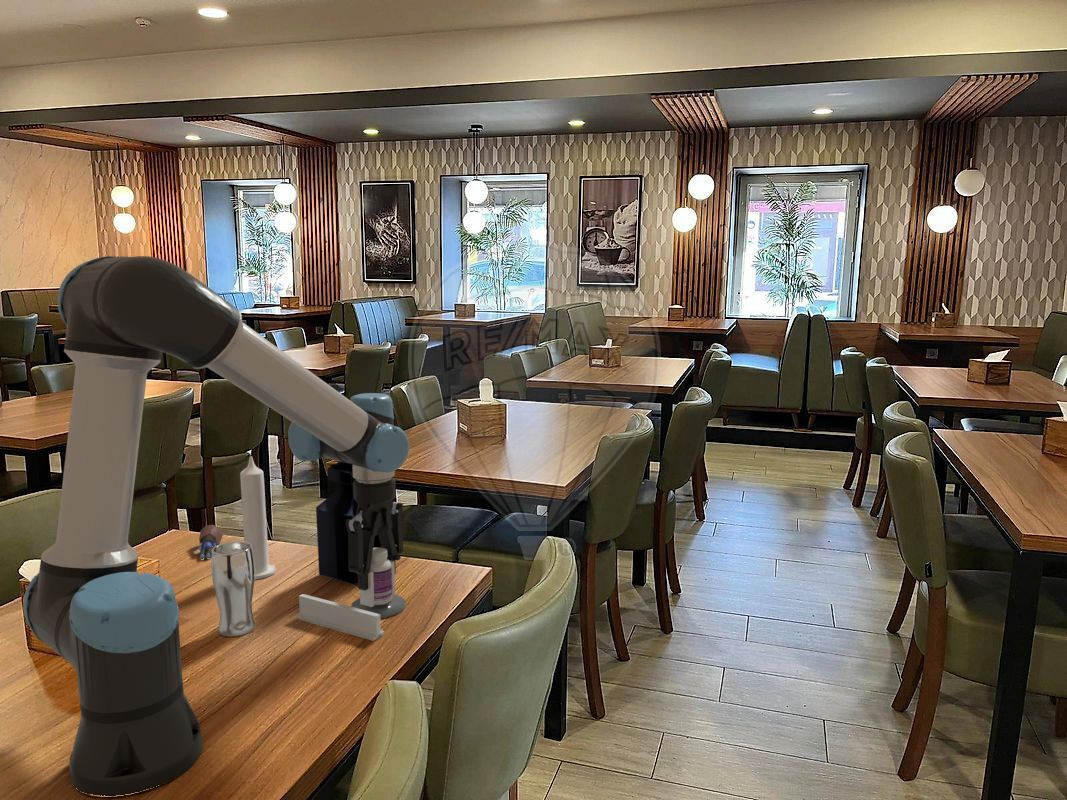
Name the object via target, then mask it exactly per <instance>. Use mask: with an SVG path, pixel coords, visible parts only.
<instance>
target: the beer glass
mask: <svg viewBox="0 0 1067 800" xmlns="http://www.w3.org/2000/svg"><path fill="white" fill-rule="evenodd" d="M216 545H217V546H215V547H212V550H211V558H210V560H211V567H210V568H211V580H212V586H213V590H214V592H215V593H214V594H215V597H216V601H217V604H218V610H219V621H218V622H219V623H218V634H219V635H220V636H223V637H227V638H230V637H231V638H235V637H241V636H244V635H247V634H249V633H252V632H253V631H254V630H255V628H256V621H255V617H254V614H253V606H252V605H253V604H252V603H253V594H254V587H255V579H254V578H255V567H254V558H253V552H252V545H251V544H250V543H248V542H244V541H241V540H240V541H236V540H235V541H228V542H223V543H220V544H219V545H218V544H216Z"/></svg>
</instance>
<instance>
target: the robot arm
mask: <svg viewBox="0 0 1067 800" xmlns="http://www.w3.org/2000/svg"><path fill="white" fill-rule="evenodd" d="M57 310H58V312H59V315H60V317H61V319H62V322H63V323H64V325H65V326H66V330H65V340H64V349H63V352H64V353H65V354H66V355H67V357H68V358H69V359H70V360H71V361H72V362H73V364H74V365H75V371H74V378H73V379H74V380H73V389H72V398H71V405H70V415H69V422H68V431H67V439H66V440H67V442H66V451H65V458H64V459H65V460H64V467H63V476H62V477H63V478H62V485H61V495H60V504H59V512H58V519H57V520H58V521H57V532H56V539H55V542H54V544H52V545H51V546H50V547H48V548H47V549H46V550H44V551H43V552H42V553H41V556H40V565H39V571H38V573H37V574H36V575H34V576H33V577H32V579H31V580H30V582H29V583H28V586H27V587H26V590H25V593H24V597H23V614H24V619H25V621H26V623H27V625H28V626H29V628H30V631H32V633H33V634H34V636H35V637H36V638H37V639H38V640H39V641H41V642H42V644H44V645H45V646H46V647H49V648H50V649H51V650H53V651H54V652H55V653H56V654H58V655H59V656H60V657H62V659H64V660H65V661H66V662H67V663H68V664H70V665H71V666H72V667H73V668H74V669H75V674H76V679H77V680H76V681H77V688H78V689H77V690H78V698H79V707H80V720H79V722H78V723H79V724H78V727H77V730H76V734H75V740H74V743H73V747H72V751H71V753H70V757H69V764H68V765H69V776H70V783H71V782H72V783H71V785H72V784H73V785H74V786H75V788H77V789H78V790H79V791H81V792H84V793H87V794H93V795H100V796H101V795H102V796H104V795H105V796H116V795H125V794H131V793H135V792H140V791H143V790H146V789H150V788H153V787H156V786H158V785H161V784H163V783H165V784H167V783H169V782H171V781H173V780H175V779H176V778H178V777H179V776H181V775H182V774H183V773H185V772H186V771H187V770H189V769H190V768H191V767H192V766H193V765H194V764H195V763H196V761H197V760H198V759H199V757H200V755H201V753H202V751H203V736H202V728H201V724H200V723H199V721H198V719H197V717H196V713H194V710H193V708H192V706H191V704H190V702H189V700H188V699H187V696H186V694H185V692H184V691H185V690H184V681H183V670H182V669H183V667H182V665H183V664H182V654H181V653H182V652H181V638H180V636H181V635H180V623H179V619H180V611H179V610H180V609H179V606H178V602H177V600H176V594H175V590H174V587H173V585H172V584H170V582H169V581H168V580H166V579H165V578H163V577H162V576H158V575H156V574H153V573H148V572H144V573H140V574H139V572H138V562H139V553H138V552H137V551H136V550H135V549H134V548H133V547H132V546H131V545H130V543H129V542H128V541H129V536H130V535H129V534H130V523H131V517H132V508H133V500H134V499H133V498H134V491H135V490H134V489H135V488H134V487H135V482H136V481H135V480H136V474H137V463H138V456H139V448H140V447H139V446H140V439H141V438H140V437H141V428H142V420H143V412H144V401H145V395H146V385H147V377H148V373H149V372H150V371H151V370H152V369H153V368H155V367H156V366H158V365H159V364H160V363H161V360H162V353H164V354H167V355H169V356H172V357H174V358H176V359H178V360H180V361H182V362H184V363H185V364H186V365H188V366H190V367H191V368H193V369H195V370H201V369H205V368H208V369H209V370H210V371H212V372H214V373H215V374H217V375H219V376H220V377H221V378H224V379H225V380H226V381H228V382H230V383H231V384H233V385H234V386H236V388H239V389H240V390H241V391H244V392H245V393H247V394H248V395H250V396H251V397H253V398H255V399H256V400H257V401H259V402H261V403H262V404H264V405H265V406H266V407H269V408H270V409H272V410H273V411H275V412H276V413H278V414H279V415H281V416H283V418H286V419H287V420H289V421H290V425H289V427H288V432H287V435H288V437H287V438H288V445H289V449H290V451H291V453H292V454H293V456H294V457H295V458H296V459H297V460H300V461H303V462H308V461H318V460H320V459H329V460H332V461H336V462H338V461H340V462H344V463H349V464H352V467H353V478H355V481H354V482H353V491H354V500H355V501H356V502H357V504H358V509H357V512H356V516H355V517H354V518H353V519H352V520H351V519H347V520H346V522H345V524H346V527H347V531H348V569H349V571H350V572H355V573H357V574H358V584H357V588H358V590H359V598H360V604H362V605H365V606H369V607H373V606H374V578H373V572H372V571H370V566H371V560H372V553H373V546H374V539H375V536H376V535H377V534H378V535H379V540H380V544H381V548H385V549H387V554H388V556H387V559H388V560H389V561H390V562H391V567H392V595H394V594H395V595H396V577H395V576H396V572H397V568H396V565H397V564H396V561H398V562H399V561H400V560H401V554H403V552H404V541H403V540H404V537H403V519H402V518H403V517H402V515H403V509H404V503H401V502H396V501H393V500H394V499H395V498H396V494H397V493H396V479H395V478H394V476H395V475H396V473H395V472H396V471H397V470H398V469H400V468H401V467H402V466H403V464H404V463H405V461H406V460H407V457H408V455H409V451H410V442H409V438H408V436H407V433H406V432H405V431H404V430H403V429H402V428H400V427H399V426H395V421H394V420H395V415H394V406H393V399H392V397H391V396H390V395H388V394H386V393H379V392H378V393H376V392H367V393H358V394H356V395H355V394H354V395H353V396H351V398H350V399H348V398H347V397H346V396H345V395H344V394H342V393H340V392H339V391H338V390H336V389H335V388H333V386H331V385H330V384H328V383H327V382H326V381H324V380H322V379H321V378H320V377H319V376H318V375H316V374H314V373H313V372H312V371H310V370H309V369H308V368H306V367H304V366H303V365H302V364H301V363H300V362H298V361H297V360H296V359H293V358H292V357H291V356H290V355H288V354H287V353H286V352H284V351H283V350H282V349H280V348H279V347H277V346H276V345H275V344H273V343H272V342H270V341H269V340H268V339H266V338H265V337H264V336H262V335H261V334H260V333H258V332H257V331H255V330H254V329H253V328H251V327H250V326H249V325H247V324H246V323H244V322H243V317H242V313H241V311H240V310H239V308H237V307H236V306H234V305H233V304H232V303H230V301H227V300H226V299H225V298H223V297H222V296H221V295H219V293H217V292H215V291H214V290H213V289H211V288H210V287H208V286H207V285H206V284H204V283H203V282H202V281H201V280H199V279H198V278H196V277H195V276H193V275H192V274H191V273H190V272H188V271H186V270H185V269H183V268H181V267H180V266H178V265H176V264H175V263H172V262H170V261H168V260H164V259H162V258H159V257H157V256H147V255H144V256H143V255H142V256H141V255H136V256H111V255H107V256H99V257H96V258H93V259H90V260H87V261H85V262H82V263H81V264H78V265H77V266H75V267H74V268H73V269H71V270H70V271H69V273H67V275H66V276H65V277H64V279H63V280H62V282H61V284H60V286H59V290H58V294H57ZM366 529H369V530H366ZM370 530H371V531H370ZM363 565H364V566H363ZM175 777H176V778H175ZM174 778H175V779H174ZM172 779H173V780H172ZM170 780H171V781H170ZM168 781H169V782H168ZM166 782H167V783H166ZM73 785H72V786H73ZM163 785H164V784H163ZM74 786H73V787H74ZM161 786H162V785H161ZM75 788H74V789H75ZM156 788H157V787H156ZM78 790H77V791H78ZM79 791H78V792H79ZM81 792H80V793H81Z"/></svg>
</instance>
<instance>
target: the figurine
mask: <svg viewBox="0 0 1067 800" xmlns="http://www.w3.org/2000/svg"><path fill="white" fill-rule="evenodd" d="M198 539H199V546H198V548H197V549H196V550H194V551H193V554H194V555H198V554H200V555H199V560H200V559H203V558H205V559H206V558H210V557H211V558H212V555H211V554H212V551H211V550H212V548H213V547H215V546H217V545H219V544H221V542H222V539H223V533H222V531H221V530H220V527H219V526H216V525H214V524H208V525H207V524H206V526H204V527H202V529H200V534H199V537H198ZM212 546H213V547H212ZM205 553H206V555H205ZM211 558H210V559H211Z"/></svg>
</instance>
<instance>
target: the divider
mask: <svg viewBox="0 0 1067 800" xmlns="http://www.w3.org/2000/svg"><path fill="white" fill-rule="evenodd" d="M298 601H299V603H298V605H299V606H298V607H299V614H297V615H295V620H299V621H303V622H307V623H310V624H313V625H317V626H321V627H324V628H327V629H330V630H332V631H333V630H334V631H337V632H340V633H345V634H348V635H351V636H355V637H358V638H362V639H365V640H368V641H373V642H375V641H376V640H377V639H379V638H381V637H382V636H384V635H385V633H386V632H385V630H383V629H382V628H381V627H382V626H381V624H382V623H381V622H382V621H381V619H380V614H377V613H373V612H369V611H365V610H362V609H358V608H354V607H351V606H350V605H346V604H342V603H339V602H335V601H331V600H327V599H324V598H320V597H316V596H314V595H313V596H312V595H309V594H305V593H302V594H300V595H298Z"/></svg>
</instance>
